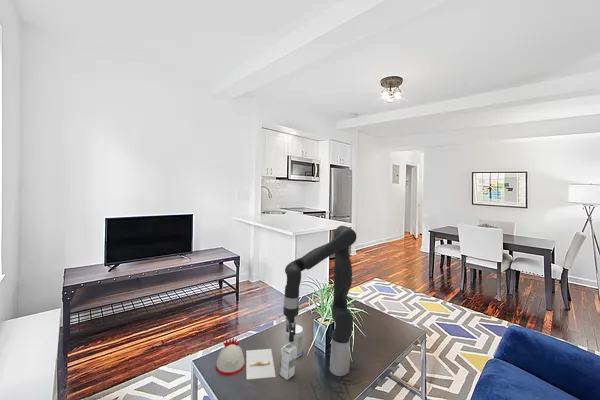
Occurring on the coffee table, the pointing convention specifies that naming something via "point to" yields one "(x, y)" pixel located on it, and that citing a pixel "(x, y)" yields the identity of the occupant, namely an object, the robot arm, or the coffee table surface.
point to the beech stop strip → (259, 363)
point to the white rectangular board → (259, 371)
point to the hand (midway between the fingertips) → (289, 336)
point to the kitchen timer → (230, 358)
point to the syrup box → (288, 361)
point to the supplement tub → (296, 339)
